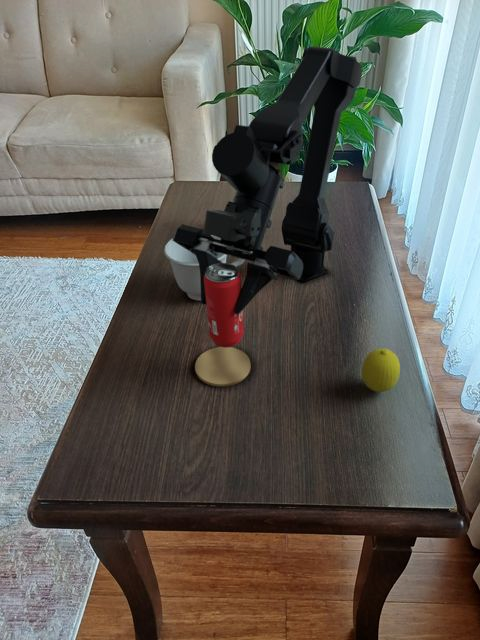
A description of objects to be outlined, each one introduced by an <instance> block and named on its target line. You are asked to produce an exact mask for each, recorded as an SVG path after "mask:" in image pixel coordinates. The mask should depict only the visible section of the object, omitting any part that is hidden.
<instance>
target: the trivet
mask: <svg viewBox="0 0 480 640" xmlns="http://www.w3.org/2000/svg"><path fill="white" fill-rule="evenodd" d="M251 366H252V365H251V360H250V358H249V356H248V354H246V353H245V352H244V351H242V350H241V349H239V348H236V347H228V348H224V347H220V346H217V347H213V348H210V349H207V350H206V351H204V352H203V353H201V354H200V355H199V356H198V357H197V359H196V361H195V363H194V371H195V374H196V376H197V378H198V379H199V381H202V382H203V384H207V385H209V386H212V387H220V388H222V387H224V388H225V387H230V386H235V385H236V384H239V383H240V382H242V381H243V380H245V379H246V378H247V377H248V375H249V374H250V372H251V369H252V368H251Z"/></svg>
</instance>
